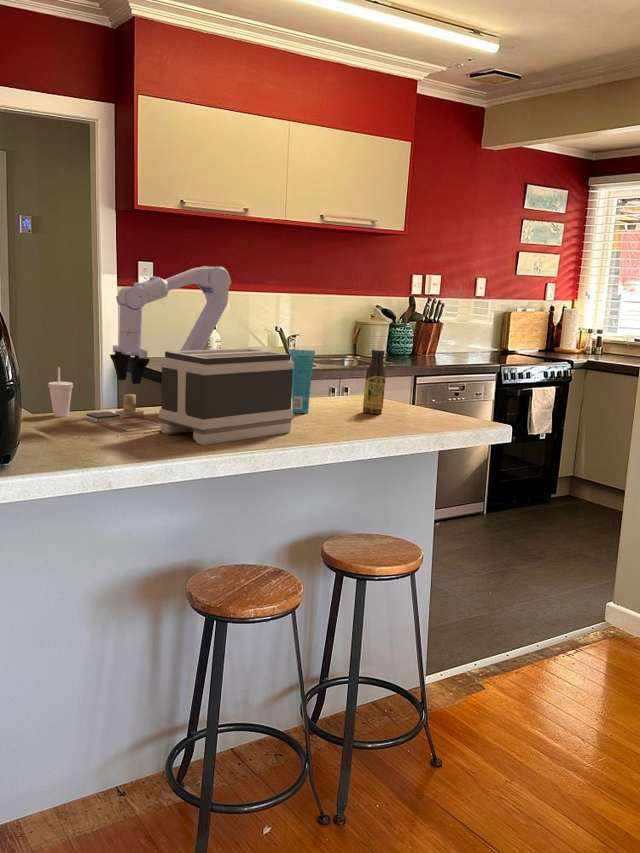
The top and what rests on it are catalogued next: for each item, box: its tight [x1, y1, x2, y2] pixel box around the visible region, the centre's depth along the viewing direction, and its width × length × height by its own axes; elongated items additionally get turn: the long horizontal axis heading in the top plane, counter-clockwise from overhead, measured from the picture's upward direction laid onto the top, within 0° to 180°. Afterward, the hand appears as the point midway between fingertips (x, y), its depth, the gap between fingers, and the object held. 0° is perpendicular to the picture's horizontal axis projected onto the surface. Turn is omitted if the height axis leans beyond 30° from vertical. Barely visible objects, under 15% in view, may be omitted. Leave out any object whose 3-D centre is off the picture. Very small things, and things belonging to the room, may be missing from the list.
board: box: [77, 414, 161, 437], centre depth 208 cm, size 18×22×1 cm
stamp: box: [115, 393, 145, 419], centre depth 215 cm, size 6×4×6 cm
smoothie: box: [47, 366, 74, 418], centre depth 211 cm, size 6×6×14 cm
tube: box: [289, 349, 316, 414], centre depth 237 cm, size 7×5×19 cm, turn 99°
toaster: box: [157, 347, 294, 446], centre depth 204 cm, size 18×34×21 cm, turn 136°
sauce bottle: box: [362, 348, 387, 415], centre depth 243 cm, size 7×6×20 cm
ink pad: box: [83, 410, 123, 423], centre depth 210 cm, size 8×7×1 cm
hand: (128, 381), depth 213 cm, fingers open, 7 cm apart
